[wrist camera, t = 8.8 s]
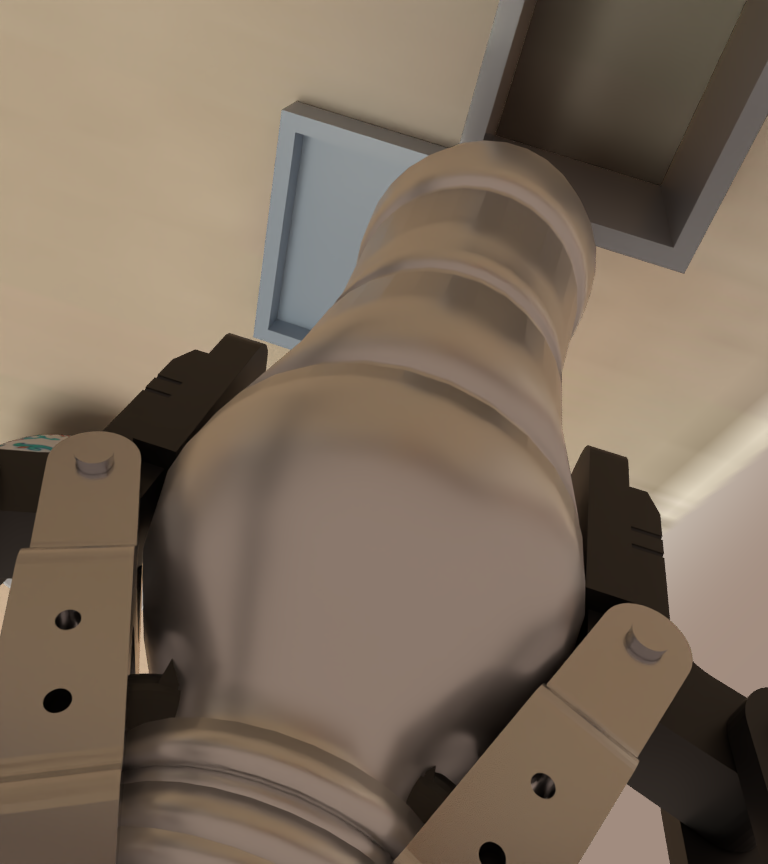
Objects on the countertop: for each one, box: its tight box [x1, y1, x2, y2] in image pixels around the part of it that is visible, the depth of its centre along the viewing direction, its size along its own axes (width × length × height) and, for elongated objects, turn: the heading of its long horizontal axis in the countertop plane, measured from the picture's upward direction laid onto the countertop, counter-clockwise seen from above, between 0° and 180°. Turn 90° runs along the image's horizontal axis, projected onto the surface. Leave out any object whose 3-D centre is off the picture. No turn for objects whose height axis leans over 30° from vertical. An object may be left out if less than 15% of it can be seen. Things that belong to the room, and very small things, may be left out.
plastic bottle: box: [118, 140, 596, 864], centre depth 14 cm, size 6×7×20 cm
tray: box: [253, 101, 447, 350], centre depth 38 cm, size 13×12×2 cm
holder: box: [460, 0, 768, 274], centre depth 28 cm, size 11×10×8 cm
